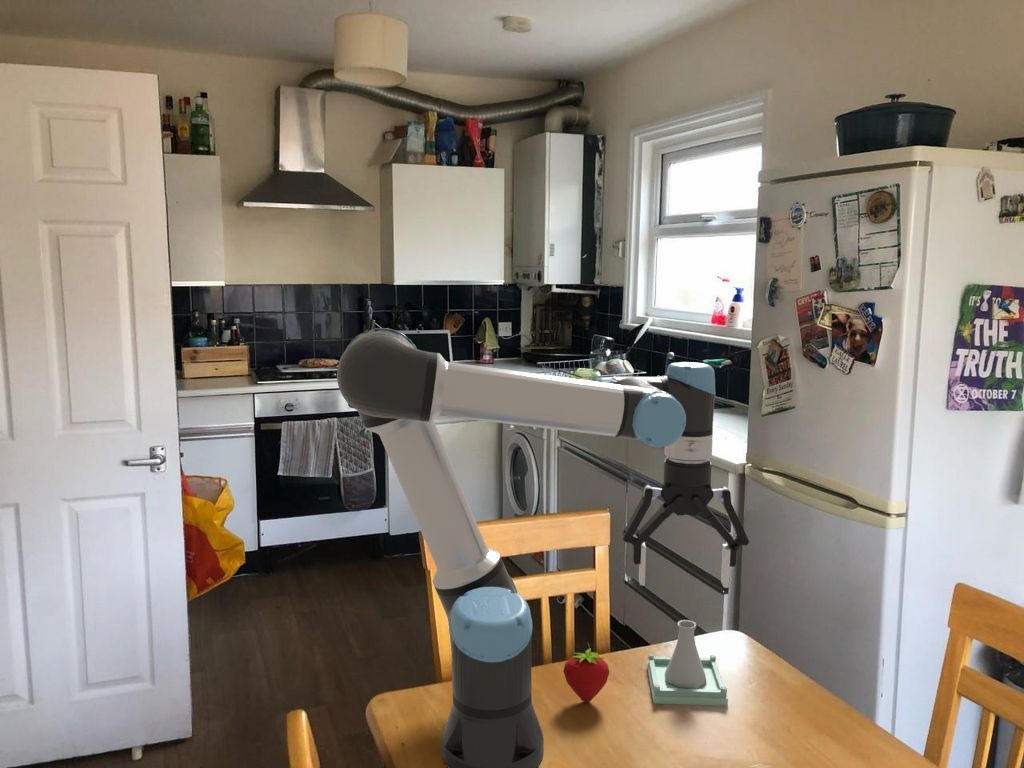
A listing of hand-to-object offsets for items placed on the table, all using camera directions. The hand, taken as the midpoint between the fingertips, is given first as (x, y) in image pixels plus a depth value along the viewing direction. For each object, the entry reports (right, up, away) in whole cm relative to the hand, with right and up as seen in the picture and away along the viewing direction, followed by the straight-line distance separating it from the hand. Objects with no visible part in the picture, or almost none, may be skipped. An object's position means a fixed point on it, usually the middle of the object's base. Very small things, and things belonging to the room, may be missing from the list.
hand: (683, 583), depth 137 cm
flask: (+1, -18, +4) cm, 18 cm away
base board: (+1, -19, +4) cm, 19 cm away
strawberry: (-16, -20, 0) cm, 25 cm away
